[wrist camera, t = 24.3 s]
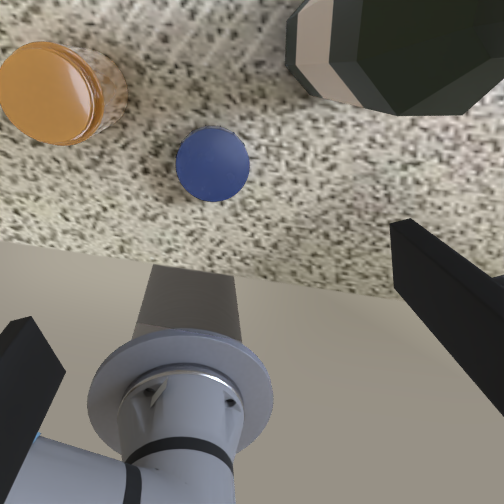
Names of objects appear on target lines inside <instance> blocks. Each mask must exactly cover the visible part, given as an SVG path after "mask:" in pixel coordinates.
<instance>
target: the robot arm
mask: <svg viewBox="0 0 504 504" xmlns="http://www.w3.org/2000/svg"><path fill="white" fill-rule="evenodd" d="M390 238H391V253H392V267H393V281H394V288H395V290H396V291H397V292H398V293H399V294H400V296H401V297H402V298H403V299H404V300H405V301H406V303H407V304H408V305H409V306H410V307H411V308H412V310H413V311H414V312H415V313H416V314H417V316H418V317H419V318H420V319H421V320H422V321H423V322H424V324H425V325H426V326H427V327H428V328H429V330H430V331H431V332H432V333H433V334H434V335H435V337H436V338H437V339H438V340H439V341H440V343H441V344H442V345H443V346H444V347H445V348H446V350H447V351H448V352H449V353H450V354H451V355H452V357H454V359H455V360H456V361H457V362H458V364H459V365H460V366H461V367H462V368H463V370H464V371H465V372H466V373H467V374H468V375H469V377H470V378H471V379H472V380H473V381H474V382H475V383H476V385H477V386H478V387H479V388H480V389H481V391H482V392H483V393H484V394H485V395H486V396H487V398H488V399H489V400H490V401H491V402H492V404H493V405H494V406H495V407H496V408H497V409H498V411H499V412H500V413H501V414H502V415H503V416H504V275H501V276H497V277H493V278H491V277H490V276H489V275H487V274H486V273H485V272H483V271H482V270H481V269H479V268H478V267H476V266H475V265H474V264H472V263H471V262H470V261H468V260H467V259H466V258H464V257H463V256H461V255H460V254H459V253H457V252H456V251H455V250H453V249H452V248H451V247H449V246H448V245H446V244H445V243H444V242H442V241H441V240H440V239H438V238H437V237H436V236H434V235H433V234H431V233H430V232H429V231H427V230H426V229H425V228H423V227H422V226H421V225H419V224H418V223H416V222H415V221H414V220H412V219H411V218H409V219H406V220H402V221H398V222H394V223H390ZM65 373H66V371H65V369H64V368H63V366H62V364H61V363H60V361H59V360H58V358H57V357H56V355H55V353H54V352H53V350H52V349H51V347H50V345H49V344H48V342H47V340H46V339H45V337H44V336H43V334H42V332H41V331H40V329H39V328H38V326H37V324H36V323H35V321H34V320H33V318H32V316H29V317H25V318H21V319H18V320H14V321H10V323H9V324H8V325H7V327H6V328H5V329H4V330H3V332H2V333H1V334H0V504H235V489H234V475H233V461H234V458H235V454H236V450H237V446H238V443H239V439H240V435H241V432H242V428H243V424H244V419H245V413H244V403H243V397H242V394H241V391H240V389H239V388H238V386H237V385H236V383H235V382H234V381H233V380H232V379H231V378H230V377H229V376H227V375H226V374H224V373H223V372H221V371H219V370H217V369H215V368H212V367H210V366H206V365H202V364H197V363H171V364H166V365H162V366H158V367H156V368H153V369H151V370H148V371H146V372H145V373H143V374H141V375H140V376H138V377H137V378H136V379H135V380H133V381H132V383H131V384H130V385H129V386H128V387H127V389H126V390H125V392H124V394H123V396H122V399H121V403H120V407H119V410H118V415H117V424H118V432H119V439H120V447H121V454H122V461H119V460H116V459H112V458H109V457H106V456H103V455H100V454H96V453H93V452H90V451H87V450H83V449H80V448H77V447H74V446H71V445H67V444H64V443H61V442H58V441H55V440H51V439H48V438H45V437H42V436H40V434H41V433H39V432H38V430H39V428H40V426H41V424H42V422H43V420H44V418H45V416H46V413H47V411H48V409H49V407H50V405H51V403H52V400H53V398H54V396H55V394H56V392H57V390H58V388H59V385H60V383H61V382H62V379H63V377H64V375H65Z"/></svg>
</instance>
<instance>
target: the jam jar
mask: <svg viewBox="0 0 504 504" xmlns="http://www.w3.org/2000/svg"><path fill="white" fill-rule="evenodd" d="M127 102H128V89H127V85H126V81H125V79H124V76H123V74H122V73H121V71H120V69H119V68H118V67H117V65H116V64H115V63H114V62H113V61H112V60H111V59H109V58H108V57H107V56H105V55H104V54H102V53H100V52H98V51H95V50H91V49H87V48H81V47H75V46H70V45H64V44H58V43H53V42H44V41H42V42H32V43H29V44H26V45H23V46H22V47H20V48H18V49H17V50H16V51H14V52H13V53H12V54H11V56H9V57H8V58H7V59H6V60H5V61H4V63H3V64H2V66H1V68H0V104H1V107H2V109H3V111H4V112H5V114H6V116H7V117H8V118H9V120H10V121H11V122H12V123H13V124H14V125H15V126H16V127H17V128H18V129H19V130H20V131H22V132H23V133H24V134H26V135H28V136H29V137H31V138H33V139H36V140H38V141H40V142H44V143H48V144H52V145H58V146H70V145H75V144H78V143H81V142H83V141H85V140H87V139H88V138H90V137H92V136H94V135H95V134H97V133H99V132H101V131H102V130H104V129H106V128H108V127H109V126H111V125H113V124H114V123H116V122H117V121H118V120H119V119H120V118H121V117H122V115H123V113H124V112H125V109H126V107H127Z"/></svg>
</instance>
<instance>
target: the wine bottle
mask: <svg viewBox="0 0 504 504" xmlns="http://www.w3.org/2000/svg"><path fill="white" fill-rule="evenodd" d="M285 66H286V67H287V68H288V70H289V71H290V72H291V73H292V74H293V76H294V77H295V78H296V79H297V80H298V81H299V83H300V84H301V85H302V86H303V87H304V89H305V90H306V91H307V92H308V93H309V94H310V95H312V96H317V97H321V98H325V99H329V100H333V101H337V102H341V103H346V104H350V105H354V106H358V107H362V108H366V109H370V110H375V111H379V112H383V113H387V114H391V115H395V116H444V115H463V114H464V113H465V112H466V111H468V110H469V109H470V108H471V107H472V106H473V105H474V104H476V103H477V102H478V101H479V100H480V99H481V98H482V97H483V96H485V95H486V94H487V93H488V92H489V91H490V90H491V89H492V88H494V87H495V86H496V85H497V84H498V83H499V82H500V81H502V80H503V79H504V0H305V1H304V2H303V3H302V4H301V5H300V6H299V7H298V9H297V10H296V11H295V12H294V13H293V14H292V15H291V16H290V18H289V19H288V20H287V26H286V54H285Z"/></svg>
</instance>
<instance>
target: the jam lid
mask: <svg viewBox="0 0 504 504" xmlns="http://www.w3.org/2000/svg"><path fill="white" fill-rule="evenodd" d="M244 146H245V145H244V143H242V141H241V140H240V139H239V138H238V137H237V136H236V135H235V133H234V132H231V131H230V130H228V129H225V128H223V127H221V126H220V127H219V126H206V125H205V126H204V127H201V128H198V129H196V130H194V131H193V130H192V131H191V133H190V134H189V135H187V136H186V138H185V139H184V140H183V141H181V145H180V147H179V150H178V153H177V154H176V172H177V176H178V178H179V180H180V182H181V184H182V186H183V187H184V188H185V189H186V190H187V191H188V192H189V193H190V194H191V195H193V196H194V197H196V198H198V199H201V200H204V201H209V202H218V201H223V200H226V199H228V198H231V197H232V196H234V195H235V194H236V193H238V192H239V191H240V190H241V189H242V187H243V186H244V184H245V182H246V180H247V178H248V174H249V168H250V163H249V160H250V159H249V156H248V154H247V151H246V149H245V147H244Z"/></svg>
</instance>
